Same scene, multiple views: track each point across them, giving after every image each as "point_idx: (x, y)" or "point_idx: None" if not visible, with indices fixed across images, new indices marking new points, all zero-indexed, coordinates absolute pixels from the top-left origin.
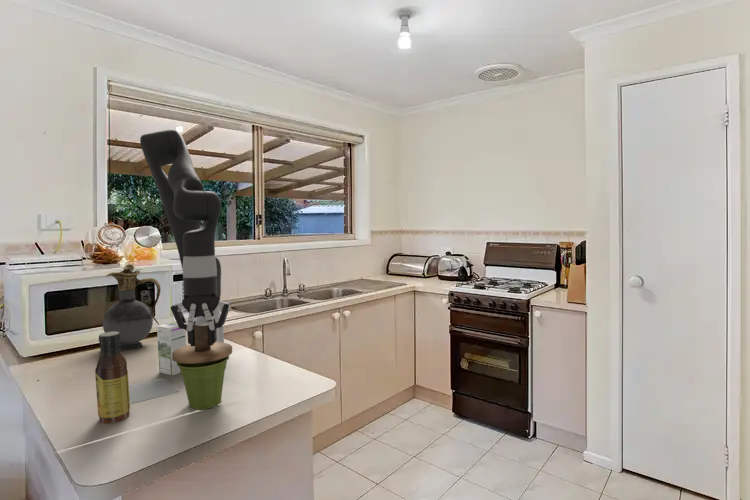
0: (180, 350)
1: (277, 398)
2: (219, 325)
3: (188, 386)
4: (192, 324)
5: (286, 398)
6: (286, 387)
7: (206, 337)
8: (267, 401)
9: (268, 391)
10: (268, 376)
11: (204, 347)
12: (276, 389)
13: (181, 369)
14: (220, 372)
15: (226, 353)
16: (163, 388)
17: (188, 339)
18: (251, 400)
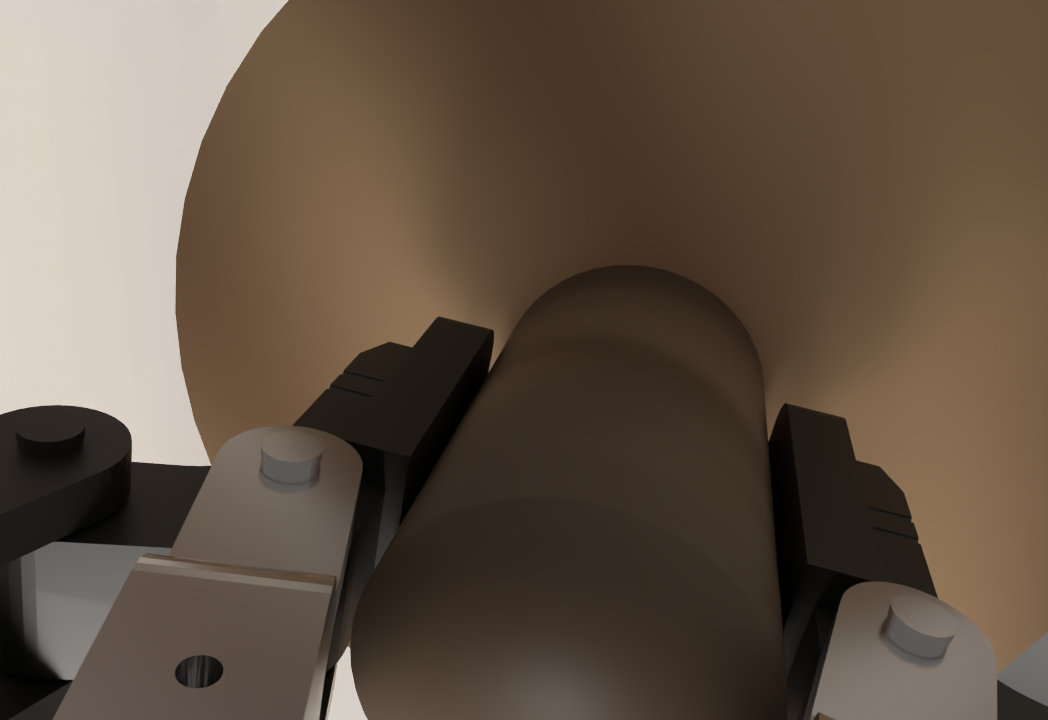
0: (1008, 505)
1: (79, 78)
2: (60, 424)
3: None
4: (832, 690)
5: (7, 49)
6: (33, 294)
7: (504, 382)
8: (154, 41)
9: (165, 265)
10: None
11: (584, 288)
12: (106, 283)
13: None
14: None
15: (239, 88)
16: (1030, 662)
17: (897, 517)
18: None
